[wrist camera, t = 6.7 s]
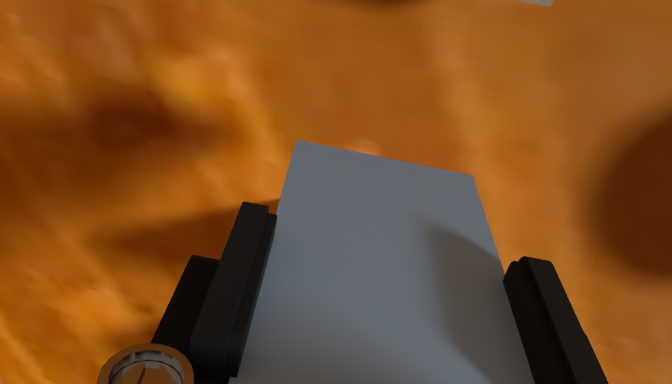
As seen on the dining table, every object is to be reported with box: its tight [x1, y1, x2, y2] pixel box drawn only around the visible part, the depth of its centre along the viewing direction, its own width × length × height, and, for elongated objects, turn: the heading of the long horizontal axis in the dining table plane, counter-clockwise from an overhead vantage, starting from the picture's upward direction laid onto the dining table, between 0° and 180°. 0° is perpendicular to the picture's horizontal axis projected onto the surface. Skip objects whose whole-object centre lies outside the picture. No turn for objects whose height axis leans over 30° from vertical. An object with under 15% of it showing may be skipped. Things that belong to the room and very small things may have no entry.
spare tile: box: [228, 140, 535, 384], centre depth 12 cm, size 2×5×10 cm, turn 78°
